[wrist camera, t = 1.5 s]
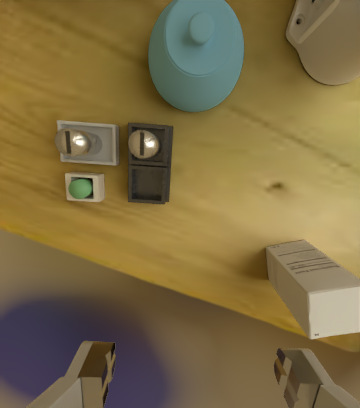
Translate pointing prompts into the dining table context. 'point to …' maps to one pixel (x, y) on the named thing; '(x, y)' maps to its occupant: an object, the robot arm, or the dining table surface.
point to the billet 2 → (144, 144)
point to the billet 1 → (77, 142)
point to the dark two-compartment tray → (150, 168)
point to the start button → (80, 188)
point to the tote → (107, 135)
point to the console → (97, 185)
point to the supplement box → (315, 289)
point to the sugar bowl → (196, 53)
